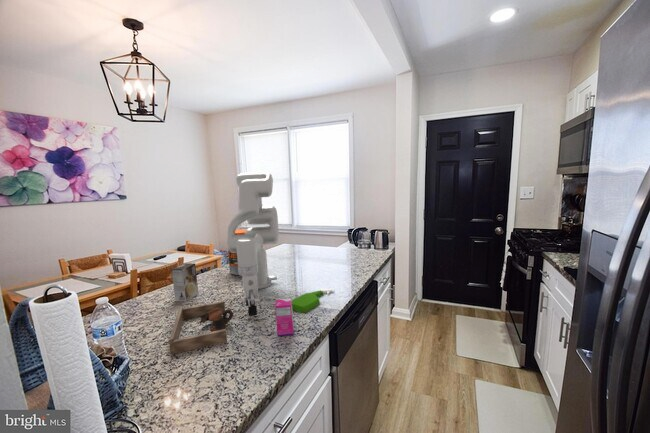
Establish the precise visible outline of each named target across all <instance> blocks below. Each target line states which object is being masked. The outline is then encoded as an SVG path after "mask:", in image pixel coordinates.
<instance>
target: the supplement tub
mask: <svg viewBox="0 0 650 433" xmlns="http://www.w3.org/2000/svg"><path fill="white" fill-rule="evenodd" d="M246 230H247V229H236V231H235V235H243V234H245V231H246ZM227 251H228V254H227V255H228V266H229V273H230V274H232V275H235V276H240V275H239V271H238V259H237V253H231V252H230V251H229V250H228V249H227Z"/></svg>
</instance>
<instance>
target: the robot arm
mask: <svg viewBox="0 0 650 433" xmlns="http://www.w3.org/2000/svg"><path fill="white" fill-rule="evenodd" d="M235 180H236V183H237V186H238V212H237V213H236V214H235V215H234V216H233V217H232V219H231V220H230V221H229V224H228V226H227V227H228V228H227V232H226V233H227V235H226V237H227V240H226V241H227V242H226V245H227V251H228V250H229V251H230V252H231V253H237V259H238V271H239V275H238V276H241V277H242V278H241V280H242V287H243V292H244V297H245V305H246V306H247V310H248V313H247V314H248V316H249V317H254V316H257V315H258V304H257V302H256V299H259V297H260V296H259V290H262V289H266V288H268V287H270V286H271V285H272V281H277V280H278V276H274V275H269V274H268V258H267V251H266V249H265V248H264V246H265V245H275V244H277V243H278V242H279V241H280V240H279V239H280V233H279V219H278V218H279V216H278V210H277V208H276V207H275V206H274V205H263V201H262V200H263V199H262V198H269V197H271V196H272V193H273V187H274V186H273V183H274V179H273V176H272V173H270V172H266V171H265V172H245V173H243V172H241V173H240V174H237V175H236V179H235ZM244 222H247V223H248V224H249V225H268V226H251V227H249V228H246V229H245V230H246V231H245V234H243V235H235V231H236V230H237V228H238V227H239V226H240V225H241V224H242V223H244Z"/></svg>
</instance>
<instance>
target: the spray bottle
mask: <svg viewBox="0 0 650 433" xmlns="http://www.w3.org/2000/svg"><path fill="white" fill-rule="evenodd" d="M333 293H335V290H333V289H330V288H325V287H321V288H320V290H316V291H312V292H307V293H304V294H301V295H299V296H297V297H295V298H293V299H291V300H292V311H295V312H298V313H307V312H308V311H311V310H312V309H314V308H316V307H317V306H319V305H320V297H322V296H323V295H325V294H327V296H328V295H329V294H333Z"/></svg>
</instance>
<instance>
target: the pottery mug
mask: <svg viewBox="0 0 650 433" xmlns="http://www.w3.org/2000/svg"><path fill="white" fill-rule="evenodd" d="M228 314H229V315H228ZM227 315H228V317H227ZM233 316H234V312H233V310H232V309H225V311H220V308H217V309H214V310H212V311H210V312H207V313H205V314H203V315H201V316H199V318H200V321H199V325H200V326H201V325H202V323H203V324H204V323H206V322H212V323H213V325H214V326H212V327H211V328H209V332H213V331H218V330H223V329H226V330H227V325H228V323H229V322H230V321H231V320H232V319H233Z"/></svg>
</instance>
